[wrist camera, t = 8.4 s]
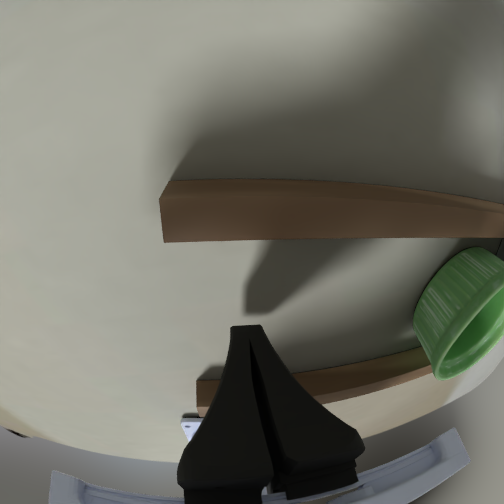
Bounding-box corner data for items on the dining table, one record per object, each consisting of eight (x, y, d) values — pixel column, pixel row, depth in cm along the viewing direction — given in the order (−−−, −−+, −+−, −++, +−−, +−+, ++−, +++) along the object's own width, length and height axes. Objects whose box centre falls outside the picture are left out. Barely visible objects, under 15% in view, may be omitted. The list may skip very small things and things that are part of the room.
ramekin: (504, 245, 14) (539, 276, 10) (453, 333, 18) (478, 368, 15) (445, 227, 12) (497, 270, 9) (383, 343, 17) (410, 392, 13)
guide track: (460, 341, 20) (474, 363, 17) (199, 391, 17) (199, 430, 14) (521, 208, 13) (547, 226, 10) (169, 180, 10) (152, 211, 7)
